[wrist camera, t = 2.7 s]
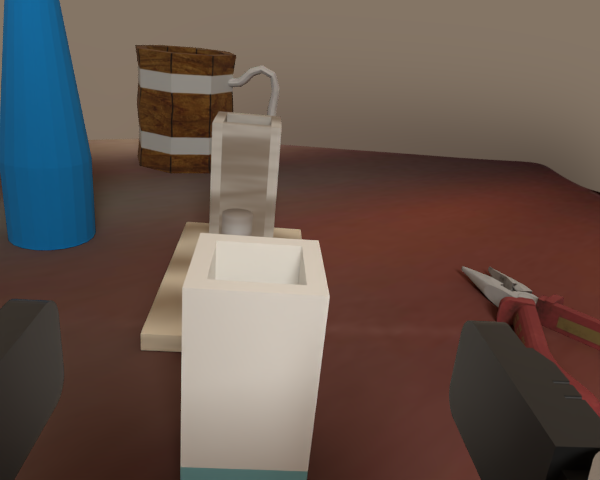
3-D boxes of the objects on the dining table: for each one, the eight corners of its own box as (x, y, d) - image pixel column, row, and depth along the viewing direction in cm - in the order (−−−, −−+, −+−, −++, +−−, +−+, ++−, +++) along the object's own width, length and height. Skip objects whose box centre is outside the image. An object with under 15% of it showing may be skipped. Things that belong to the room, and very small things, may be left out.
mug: (119, 167, 72) (115, 47, 66) (152, 145, 85) (151, 43, 79) (267, 183, 71) (276, 63, 66) (279, 159, 84) (287, 56, 78)
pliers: (525, 277, 52) (532, 252, 51) (726, 422, 34) (742, 388, 33) (416, 283, 49) (421, 256, 48) (574, 445, 31) (588, 408, 30)
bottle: (109, 225, 53) (89, -146, 42) (70, 255, 47) (34, -178, 35) (38, 216, 54) (-1, -151, 43) (-11, 244, 47) (-72, -184, 36)
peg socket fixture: (312, 358, 36) (334, 177, 31) (140, 350, 35) (136, 162, 30) (299, 240, 54) (311, 116, 50) (186, 233, 53) (188, 106, 49)
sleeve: (302, 514, 24) (329, 296, 20) (180, 510, 24) (182, 287, 20) (297, 429, 29) (318, 240, 25) (196, 425, 29) (200, 232, 25)
